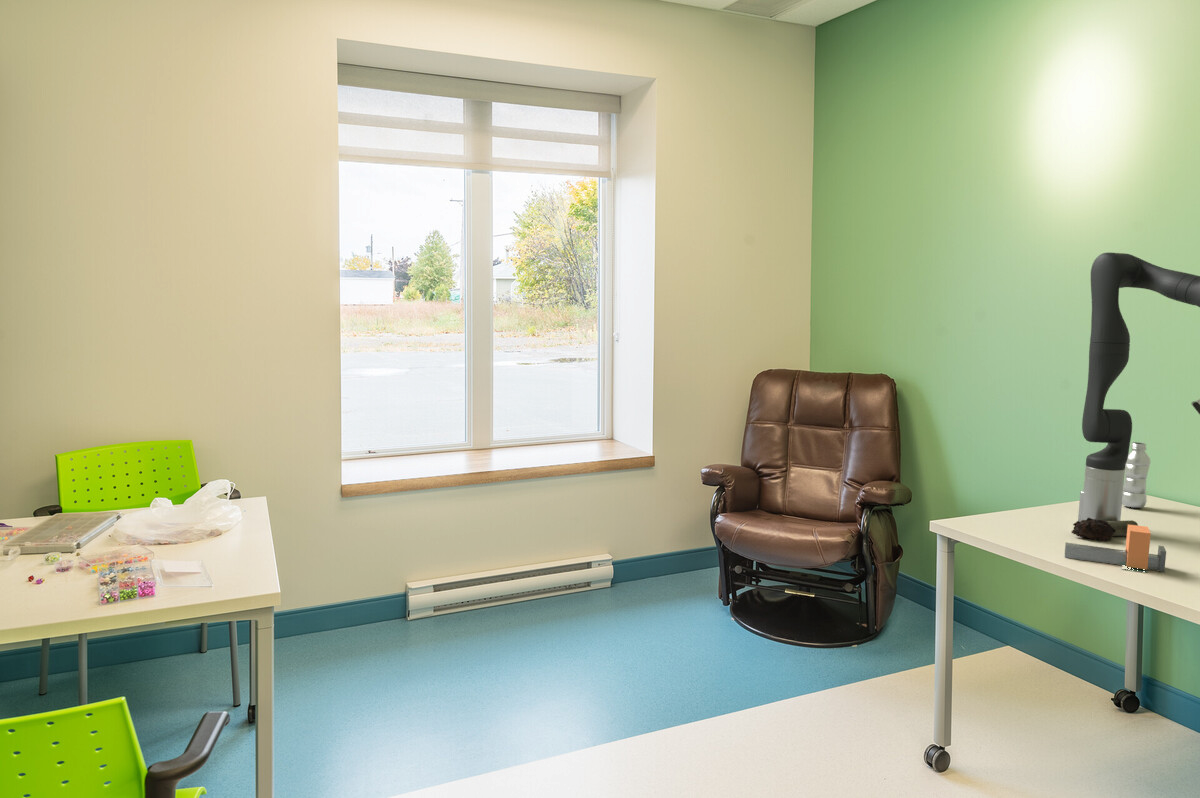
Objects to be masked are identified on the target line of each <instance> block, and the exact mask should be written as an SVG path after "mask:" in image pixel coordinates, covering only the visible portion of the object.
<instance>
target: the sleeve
mask: <svg viewBox="0 0 1200 798" xmlns="http://www.w3.org/2000/svg"><path fill="white" fill-rule="evenodd" d="M1151 536H1152V535H1151V530H1150V528H1149V526H1145V525H1144V526H1143V525H1138V526H1137V525H1128V528H1127V536H1126V539H1125V541H1126V542H1125V550H1126V551H1127V552H1128V553H1127V564H1126V565H1127V567H1133V568H1140V569H1146V570H1148V569H1147V568H1148V557H1149V554H1150V547H1151V546H1150V544H1151Z"/></svg>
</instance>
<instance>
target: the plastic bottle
mask: <svg viewBox="0 0 1200 798" xmlns="http://www.w3.org/2000/svg"><path fill="white" fill-rule="evenodd" d="M1130 449H1131V450H1130V451H1129V454H1128V459H1127V462H1126V465H1125V475H1124V487H1123V498H1122V506H1124V507H1127V508H1130V507H1131V509H1142V508H1144V507H1145V506H1146V504H1147V501H1148V500H1147V494H1146V493H1147V489H1146V488H1147V479H1148V473H1149V470H1150V465H1151V458H1150V457H1149V455H1148V454H1147V452H1146V450H1147V443H1145V442H1139V441H1132V442H1131V446H1130Z"/></svg>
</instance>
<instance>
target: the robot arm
mask: <svg viewBox="0 0 1200 798" xmlns="http://www.w3.org/2000/svg"><path fill="white" fill-rule="evenodd" d="M1123 288H1134V289H1135V288H1136V289H1144V290H1148V291H1149V290H1150V291H1152V292H1156V293H1158V294H1160V295H1161V296H1163V297H1166V298H1168V299H1171V300H1173V301H1176V302H1180V303H1184V304H1188V305H1190V306H1191V305H1192V306H1197V307H1198V308H1200V275H1196V274H1192V273H1187V272H1183V271H1179V270H1173V269H1168V268H1164V267H1161V266H1158V265H1156V264H1153V263H1151V262H1149V261H1146V260H1144V259H1141V258H1139V257H1138V256H1135V255H1133V254H1130V253H1122V252H1103V253H1101V254H1098V256H1097V257H1096V258H1095V259H1094V260H1093V263H1092V265H1091V269H1090V292H1091V321H1090V322H1091V323H1090V336H1089V337H1090V338H1089V351H1088V375H1087V387H1086V394H1085V400H1084V405H1083V406H1084V407H1083V411H1082V412H1083V413H1082V414H1083V415H1082V421H1081V422H1082V423H1081V432H1082V436H1083V438H1084V439H1085V440H1086V441H1087V442H1089V443H1099V444H1100V443H1102V444H1103V443H1104V444H1106V443H1107V444H1106V446H1105V447H1104V448H1102V449H1100V450H1098V451H1096V452H1092V453H1089V454H1088V455H1087V456H1086V458H1085V467H1084V468H1085V469H1084V481H1083V490H1081V491H1080V492H1079V493H1080V494H1079V506H1078V517H1077V521H1079V522H1081V521H1082V520H1087V518H1091V519H1097V520H1104V521H1121V517H1122V508H1123V505H1122V498H1123V488H1124V483H1125V465H1126V462H1127V459H1128V454H1129V453H1130V447H1131V446H1130V444H1131V439H1132V433H1133V420H1132V416H1131V414H1130V413H1129V412H1128V411H1127V410H1126V409H1116V408H1113V409H1112V408H1104V405H1105V401H1106V397H1107V394H1108V391H1109V390H1110V388H1111V386H1112V385H1113V384H1114V382H1115V381H1116V380H1117V379H1118V378H1119V376H1120V375H1121V374H1122V372H1123V371H1124V370H1125V368H1126V367H1127V365H1128V362H1129V360H1130V359H1129V357H1130V349H1131V348H1130V346H1131V344H1130V342H1131V335H1130V332H1129V328H1128V326H1127V323H1126V322H1125V321H1126V320H1125V319H1124V316H1123V314H1122V312H1121V310H1120V302H1119V301H1120V299H1119V296H1120V289H1123ZM1191 406H1192V407H1193V409H1195V411H1196V412H1197V413H1198V415H1200V398H1199V399H1197V400H1194V401H1191Z"/></svg>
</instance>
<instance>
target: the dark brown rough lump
mask: <svg viewBox="0 0 1200 798" xmlns="http://www.w3.org/2000/svg"><path fill="white" fill-rule="evenodd" d="M1128 525H1137V526H1139V525H1138V522H1137V521H1134V520H1120V521H1104V520H1097V519H1091V518H1087V520H1082V521H1081V522H1079V521H1078V520H1077V521H1076V522H1074V523H1073V525H1072V526H1073V529H1072V530H1071V534H1073V535H1076V537H1079V538H1085V539H1088V538H1089V540H1095V539H1096V541H1099V542H1103V541H1104V540H1105V541H1104V542H1107V541H1108V540H1109V541H1111V540H1112V539H1113V537H1127V528H1128Z"/></svg>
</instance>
